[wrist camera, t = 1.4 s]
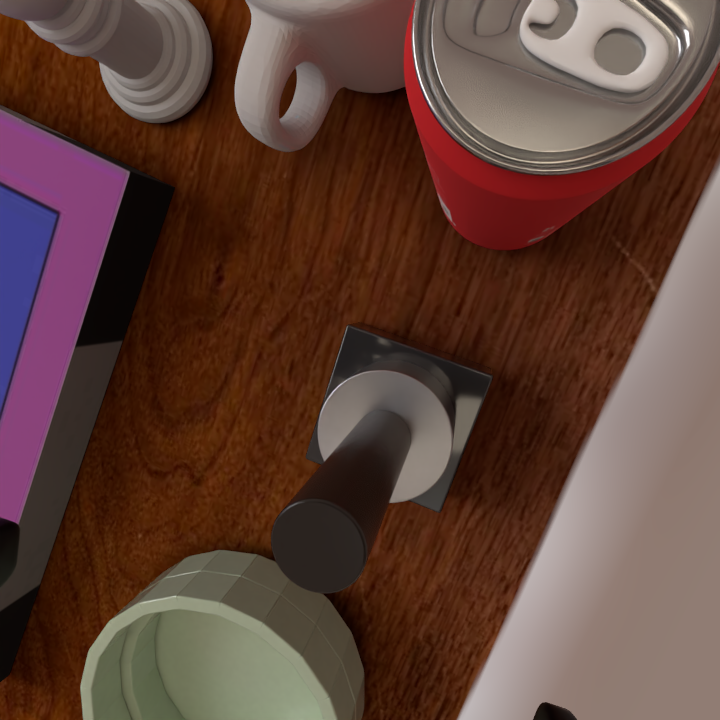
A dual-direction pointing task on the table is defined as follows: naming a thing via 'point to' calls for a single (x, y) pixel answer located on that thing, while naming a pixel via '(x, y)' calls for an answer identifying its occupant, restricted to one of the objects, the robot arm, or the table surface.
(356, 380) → the black post
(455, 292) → the table surface
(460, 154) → the beverage can
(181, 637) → the bowl
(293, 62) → the cup
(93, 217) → the book
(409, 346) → the pole stand base
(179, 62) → the chess piece
